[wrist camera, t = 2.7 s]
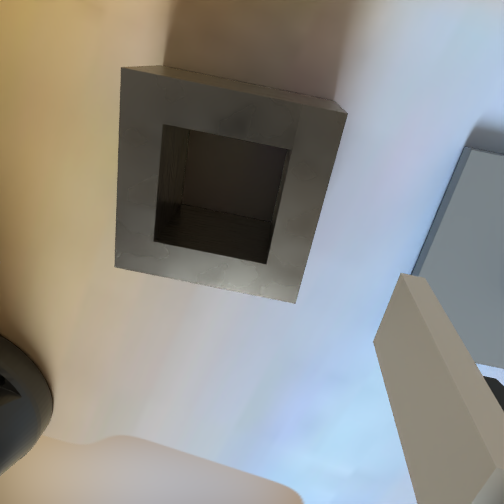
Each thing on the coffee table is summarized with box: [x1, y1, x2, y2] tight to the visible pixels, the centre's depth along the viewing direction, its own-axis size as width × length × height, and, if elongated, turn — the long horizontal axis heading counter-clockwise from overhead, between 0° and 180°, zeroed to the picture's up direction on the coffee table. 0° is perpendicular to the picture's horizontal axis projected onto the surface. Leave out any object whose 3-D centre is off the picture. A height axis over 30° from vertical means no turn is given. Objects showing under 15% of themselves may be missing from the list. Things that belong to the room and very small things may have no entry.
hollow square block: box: [115, 66, 348, 304], centre depth 22 cm, size 10×10×6 cm
